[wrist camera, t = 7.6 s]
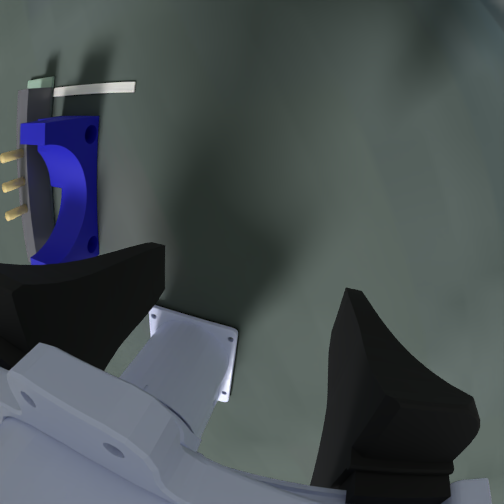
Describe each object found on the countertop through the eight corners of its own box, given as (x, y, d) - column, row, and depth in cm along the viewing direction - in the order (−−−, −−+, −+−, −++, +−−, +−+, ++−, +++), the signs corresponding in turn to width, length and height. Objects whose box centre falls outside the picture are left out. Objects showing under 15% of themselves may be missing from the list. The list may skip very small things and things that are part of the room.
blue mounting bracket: (63, 115, 22) (10, 123, 17) (100, 116, 22) (45, 123, 16) (66, 242, 27) (22, 269, 22) (100, 253, 27) (56, 284, 21)
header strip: (59, 261, 28) (24, 285, 24) (37, 253, 29) (3, 274, 24) (54, 76, 21) (9, 77, 16) (30, 80, 21) (-13, 84, 17)
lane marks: (131, 275, 26) (130, 275, 26) (59, 252, 28) (58, 252, 28) (135, 81, 20) (134, 81, 20) (54, 88, 21) (54, 88, 21)
